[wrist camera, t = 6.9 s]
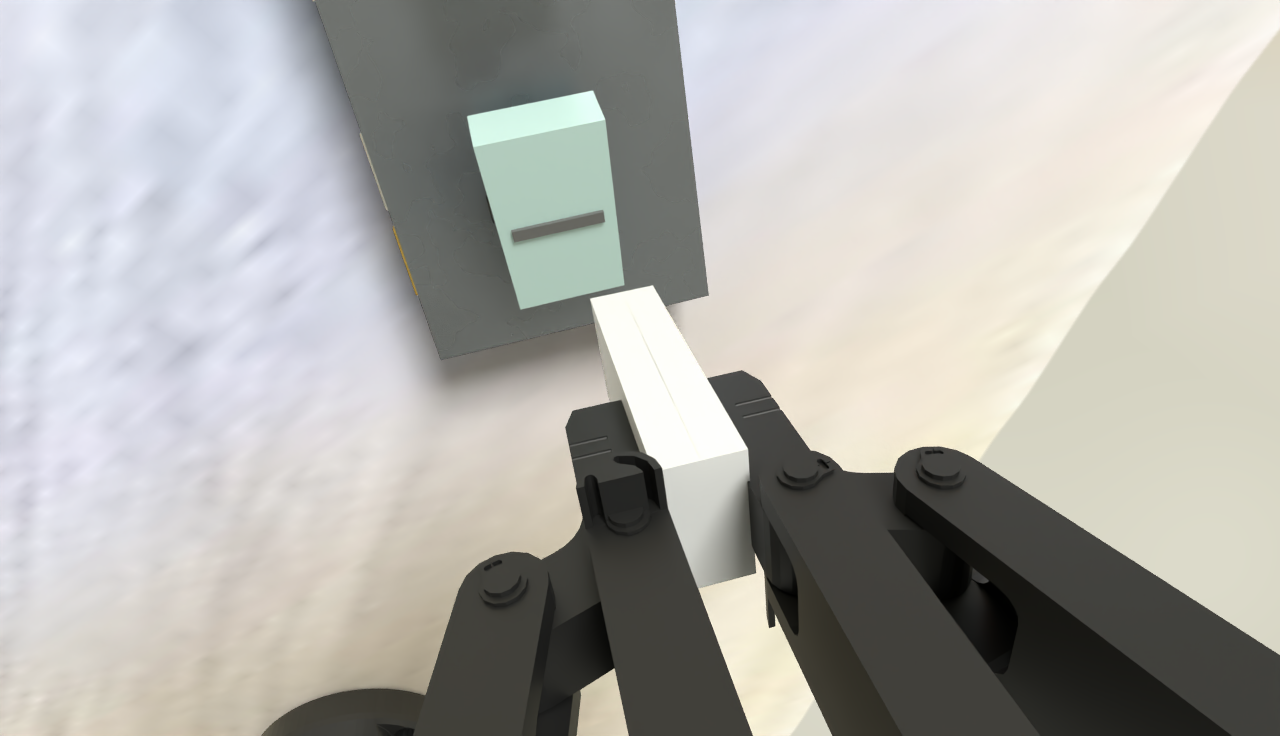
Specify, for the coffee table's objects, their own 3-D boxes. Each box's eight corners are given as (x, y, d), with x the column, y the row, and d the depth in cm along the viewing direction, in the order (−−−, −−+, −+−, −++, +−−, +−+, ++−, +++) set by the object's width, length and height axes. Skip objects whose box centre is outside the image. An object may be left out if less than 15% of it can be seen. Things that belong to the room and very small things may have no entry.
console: (437, 317, 36) (433, 374, 31) (216, -331, 24) (146, -422, 18) (681, 260, 38) (716, 305, 33) (595, -378, 25) (630, -476, 20)
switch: (513, 278, 31) (521, 312, 30) (466, 116, 25) (473, 149, 23) (613, 255, 31) (625, 287, 30) (592, 90, 25) (606, 121, 24)
